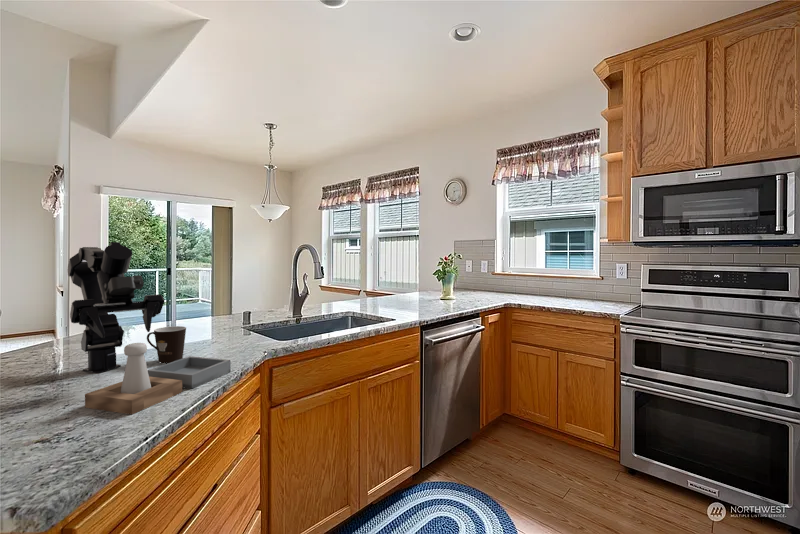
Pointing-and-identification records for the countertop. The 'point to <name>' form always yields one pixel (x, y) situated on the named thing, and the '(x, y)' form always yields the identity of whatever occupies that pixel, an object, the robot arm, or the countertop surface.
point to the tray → (192, 370)
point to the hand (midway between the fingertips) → (127, 333)
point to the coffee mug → (169, 343)
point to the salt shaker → (135, 369)
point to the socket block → (132, 396)
